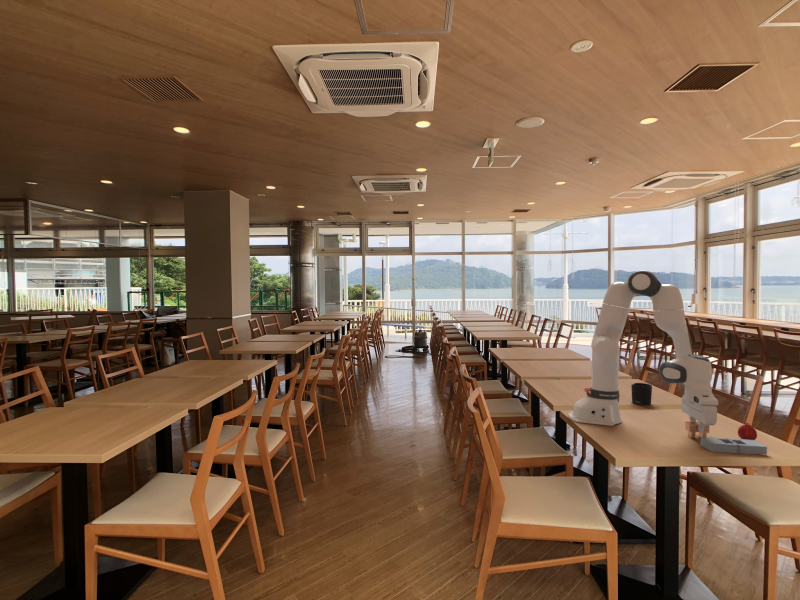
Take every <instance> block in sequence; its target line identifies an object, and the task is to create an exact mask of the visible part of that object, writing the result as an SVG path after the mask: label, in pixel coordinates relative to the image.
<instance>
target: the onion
mask: <svg viewBox="0 0 800 600" xmlns="http://www.w3.org/2000/svg"><path fill="white" fill-rule="evenodd" d="M737 435H738V437H739V439H745V440H755V441H756V439H758V438H757V437H758V433H757V430H756V429H755V428H754V427H753V426H752V425H751V424H750V423H749V422H745V423H744V424H742V425H741V426H739V427H738V429H737Z"/></svg>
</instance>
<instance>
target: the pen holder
mask: <svg viewBox="0 0 800 600" xmlns="http://www.w3.org/2000/svg"><path fill="white" fill-rule="evenodd" d="M652 394H653V386H652V384H649V383H645V382H634V383H631V402H632V403H633V404H634V405H639V406H651V404H652V396H653V395H652Z"/></svg>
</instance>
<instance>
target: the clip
mask: <svg viewBox="0 0 800 600" xmlns="http://www.w3.org/2000/svg"><path fill="white" fill-rule="evenodd" d="M698 425H699V423H698V421H696V422H690V421H685V430H686V431H687V436H688V437H689V438H691V439H696V433H698V437H700V438H701V437H708V436H707V434H709V433H710V425H705V427H704V432H699V431H698V430H697V426H698Z"/></svg>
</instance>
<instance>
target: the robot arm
mask: <svg viewBox="0 0 800 600" xmlns="http://www.w3.org/2000/svg"><path fill="white" fill-rule="evenodd" d="M635 297H649V299H650V301H651V304H652V311H653V320H654V322H655V325H656V327H658V328H659V329H660V330H662V331H663V332H665V333H667V335H669V337H670V338H671V339H672V342H673V347H674V352H675V359H671V360H667V361H664V362H662V363H661V364H660V366H659V368H658V374H659V376H660V378H661V380H662V381H664V382H665V383H667V384H668V383H669V384H674V385H675V384H682V385H684V393H683V395H682V396H681V401H680V402H681V403H680V409H681V411H682V412H683V414H684V413H685V414H686V415H688V418H689V422H698V423H699V425H698V426H697V430H698V431H699V432H704V427H705V425H709V426H716V424H717V421H718V407H717V406H718V405H719V400H718V399H717V398H716V397H715V395H714V393H713V391H712V385H711V383H712V379H713V370H712V363H711V362H712V361H710V359H709V358H707V357H706V356H703V355H699V354H695V353H694V351H693V346H692V341H691V337H690V332H689V328H688V325H687V322H686V315H685V308H684V307H685V306H684V301H683V296H682V293H681V291H680V289H679V287H678V286H677V285H675V284H670V283H669V284H668V283H667V284H663V283H661V282H660V280H659V279H658V277H657V276H656V274H654V272H651V271H649V270H645V269H641V270H636V271H634V272H632V273H631V274H630V276H629V277H628V280H627V281H626V282H625V281H624V282H623V281H616V282H615V281H614V282H612V283H611V284H609V286H608V288H607V290H606V293H605V295H604V297H603V300H602V304H601V308H600V312H599V316H598V320H597V323H596V327H595V329H594V332H593V337H592V340H591V344H590V345H591V375H590V376H591V382H590V383H591V385H590V386H591V387H587V386H586V387H585V386H584V388H583V391H584V392H585V393H586V395H585V396H584V397H581V399H579V400H577V401H576V402H575V403H574V405H573V409H572V411H569V412H568V413H567V417H568V418H569V419H570V420H571V421H573V422H576V423H583V424H590V425H591V424H592V425H600V426H601V425H602V426H608V427H609V426H611V427H612V426H614V425H618V424H621V423H622V422H623V421H622V418H621V414H620V413H621V412H620V407H619V403H620V390H619V368H620V355H621V353H620V352H621V348H620V347H621V346H620V341H621V337H622V334H623V331H624V328H625V326H626V323H627V319H628V316H629V310H630V308H631V305H632V304H631V303H632V300H633V299H634V298H635ZM699 432H698V433H699Z"/></svg>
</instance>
